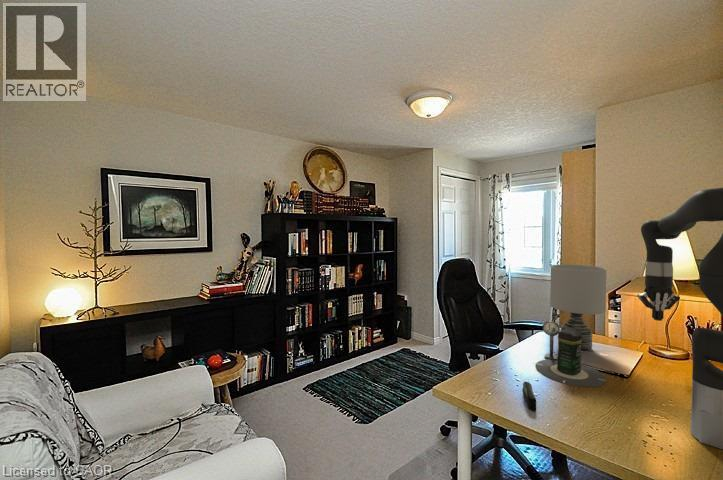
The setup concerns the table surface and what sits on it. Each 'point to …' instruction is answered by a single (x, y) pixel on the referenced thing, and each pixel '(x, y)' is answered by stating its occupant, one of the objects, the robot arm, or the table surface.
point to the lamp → (578, 296)
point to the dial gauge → (551, 337)
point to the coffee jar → (569, 351)
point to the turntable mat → (583, 379)
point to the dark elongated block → (529, 396)
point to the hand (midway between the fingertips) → (657, 320)
